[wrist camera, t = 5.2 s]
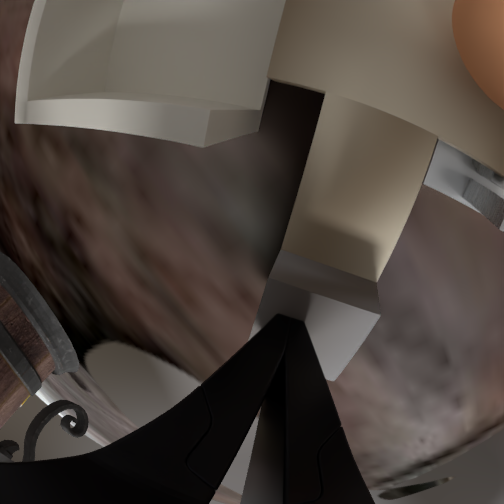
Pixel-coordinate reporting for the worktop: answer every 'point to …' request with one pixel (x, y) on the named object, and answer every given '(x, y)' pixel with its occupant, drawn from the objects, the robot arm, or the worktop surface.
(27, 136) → the worktop surface
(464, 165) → the fulcrum
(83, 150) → the worktop surface
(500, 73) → the ball
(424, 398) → the worktop surface
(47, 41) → the tray
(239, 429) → the robot arm
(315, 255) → the lever
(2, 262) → the tankard
